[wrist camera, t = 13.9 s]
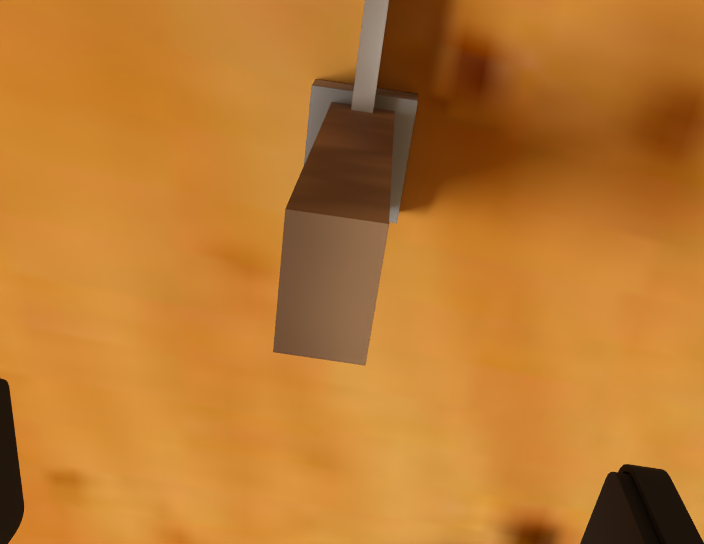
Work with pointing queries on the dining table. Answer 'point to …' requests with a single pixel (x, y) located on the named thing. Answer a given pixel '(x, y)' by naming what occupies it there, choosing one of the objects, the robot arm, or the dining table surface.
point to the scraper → (343, 207)
